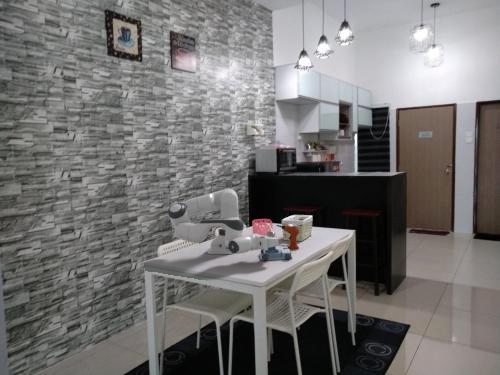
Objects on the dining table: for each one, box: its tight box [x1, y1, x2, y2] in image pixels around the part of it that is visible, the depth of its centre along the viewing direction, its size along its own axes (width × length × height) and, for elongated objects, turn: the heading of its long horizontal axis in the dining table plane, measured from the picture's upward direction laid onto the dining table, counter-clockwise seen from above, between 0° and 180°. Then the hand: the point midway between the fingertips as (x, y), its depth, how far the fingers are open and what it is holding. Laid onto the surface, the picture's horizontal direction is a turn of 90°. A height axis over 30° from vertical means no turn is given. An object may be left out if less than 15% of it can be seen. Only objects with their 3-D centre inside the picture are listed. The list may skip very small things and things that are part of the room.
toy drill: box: [276, 224, 300, 251], centre depth 246 cm, size 5×19×15 cm, turn 44°
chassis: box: [259, 247, 293, 262], centre depth 225 cm, size 18×14×4 cm
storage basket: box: [281, 214, 313, 242], centre depth 273 cm, size 24×16×15 cm
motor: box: [266, 230, 277, 251], centre depth 224 cm, size 5×5×11 cm
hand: (272, 237), depth 224 cm, fingers closed on motor, 5 cm apart
